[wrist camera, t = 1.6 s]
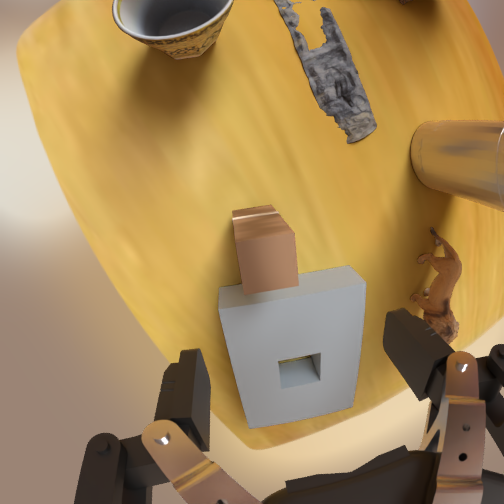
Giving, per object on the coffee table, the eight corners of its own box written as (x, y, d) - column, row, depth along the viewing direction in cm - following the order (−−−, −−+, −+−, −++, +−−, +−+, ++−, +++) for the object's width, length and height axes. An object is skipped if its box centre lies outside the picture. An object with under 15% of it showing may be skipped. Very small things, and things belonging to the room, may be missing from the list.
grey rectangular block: (349, 265, 33) (366, 282, 29) (342, 385, 41) (352, 407, 36) (219, 287, 33) (218, 309, 28) (246, 405, 41) (249, 428, 36)
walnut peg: (269, 201, 30) (295, 232, 19) (273, 237, 32) (299, 286, 20) (231, 207, 30) (234, 241, 19) (237, 243, 31) (243, 295, 20)
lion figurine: (431, 311, 38) (463, 342, 29) (405, 320, 38) (436, 354, 29) (441, 223, 33) (484, 243, 24) (413, 228, 33) (457, 251, 24)
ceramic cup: (236, 67, 25) (241, 29, 15) (143, 81, 24) (108, 53, 15) (228, -20, 20) (230, -69, 11) (144, -7, 20) (120, -50, 10)
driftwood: (376, 137, 29) (385, 136, 27) (326, 149, 29) (333, 149, 27) (319, -8, 22) (324, -16, 20) (267, -3, 22) (270, -12, 20)
